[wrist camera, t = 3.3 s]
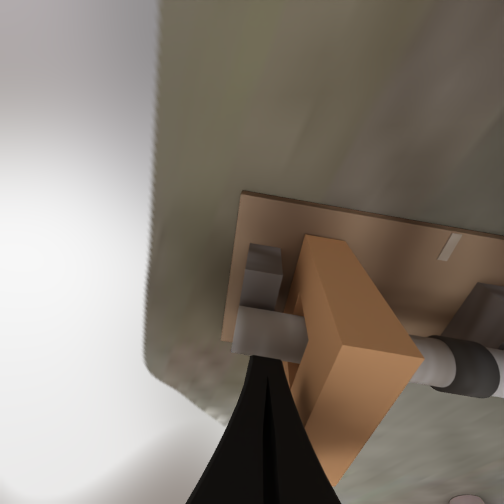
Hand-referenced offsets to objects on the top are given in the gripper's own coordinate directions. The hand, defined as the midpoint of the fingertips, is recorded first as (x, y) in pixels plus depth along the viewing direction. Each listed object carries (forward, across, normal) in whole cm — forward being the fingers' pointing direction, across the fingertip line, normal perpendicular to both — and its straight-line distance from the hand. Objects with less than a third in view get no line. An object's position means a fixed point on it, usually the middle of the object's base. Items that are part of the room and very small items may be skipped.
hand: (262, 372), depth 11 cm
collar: (+7, -3, 0) cm, 7 cm away
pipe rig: (+8, -7, 0) cm, 10 cm away
